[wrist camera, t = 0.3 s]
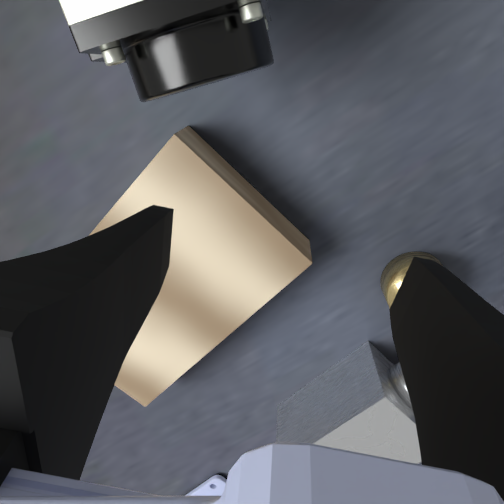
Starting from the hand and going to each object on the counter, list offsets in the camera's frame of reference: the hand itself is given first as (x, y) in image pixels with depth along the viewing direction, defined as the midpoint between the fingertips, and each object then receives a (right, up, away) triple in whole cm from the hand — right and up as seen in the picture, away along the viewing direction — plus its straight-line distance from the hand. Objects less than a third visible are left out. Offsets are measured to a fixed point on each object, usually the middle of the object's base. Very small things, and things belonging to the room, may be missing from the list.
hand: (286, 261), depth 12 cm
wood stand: (-6, -1, +12) cm, 14 cm away
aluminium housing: (+5, -9, +16) cm, 19 cm away
